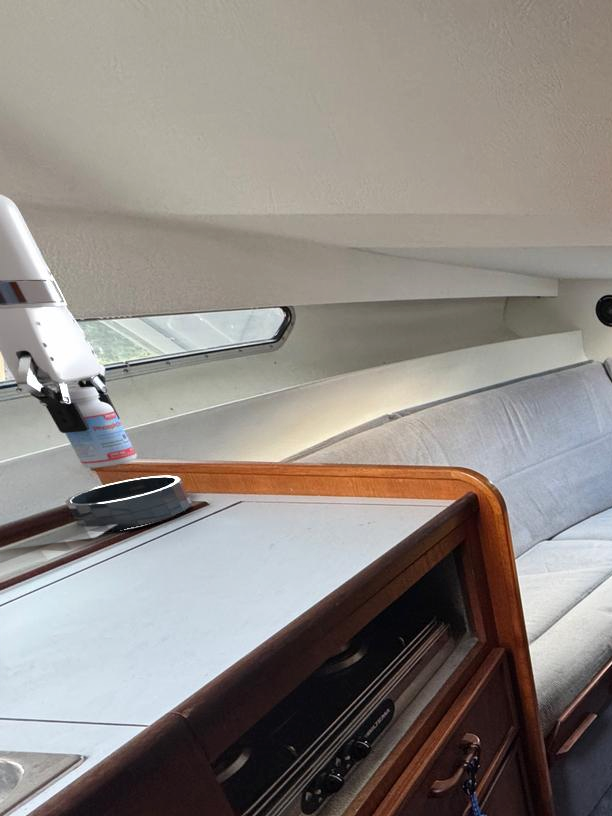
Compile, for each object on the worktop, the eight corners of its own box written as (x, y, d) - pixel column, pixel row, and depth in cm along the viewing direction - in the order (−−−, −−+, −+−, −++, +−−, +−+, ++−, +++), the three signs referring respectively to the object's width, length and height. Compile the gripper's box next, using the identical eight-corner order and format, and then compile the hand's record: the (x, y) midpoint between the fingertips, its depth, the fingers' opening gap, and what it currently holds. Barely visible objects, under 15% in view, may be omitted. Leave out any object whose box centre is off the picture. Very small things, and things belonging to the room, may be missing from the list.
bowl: (60, 541, 84) (41, 510, 82) (117, 510, 95) (102, 482, 93) (166, 527, 87) (150, 497, 85) (208, 498, 98) (196, 471, 96)
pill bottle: (123, 466, 85) (83, 391, 80) (73, 471, 84) (30, 395, 79) (147, 455, 90) (111, 384, 86) (101, 459, 89) (62, 387, 84)
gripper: (36, 296, 83) (100, 416, 91) (-72, 300, 68) (14, 443, 76) (98, 293, 85) (155, 412, 93) (5, 296, 70) (82, 437, 78)
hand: (91, 425), depth 85 cm, fingers closed on pill bottle, 6 cm apart
